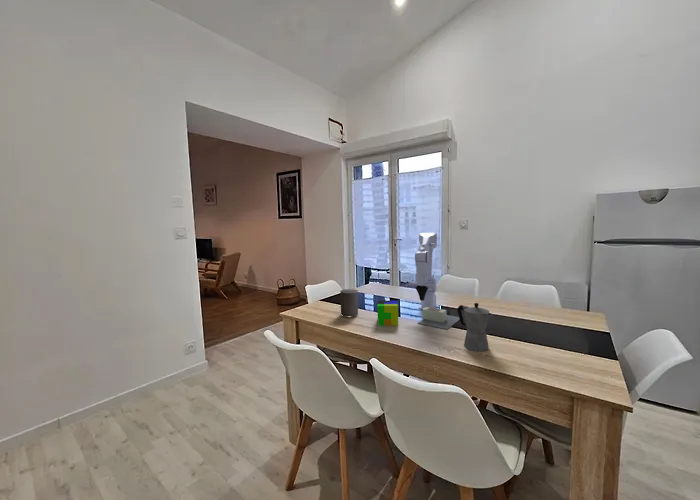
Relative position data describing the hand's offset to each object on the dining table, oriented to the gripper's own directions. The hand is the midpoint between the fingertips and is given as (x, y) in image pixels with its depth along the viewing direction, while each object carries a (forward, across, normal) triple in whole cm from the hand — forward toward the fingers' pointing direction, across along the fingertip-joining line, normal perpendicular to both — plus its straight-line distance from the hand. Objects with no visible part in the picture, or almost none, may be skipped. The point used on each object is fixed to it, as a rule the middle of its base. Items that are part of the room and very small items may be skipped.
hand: (422, 300), depth 159 cm
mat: (+9, +10, 0) cm, 14 cm away
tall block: (+6, +1, 0) cm, 7 cm away
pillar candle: (+10, -35, -17) cm, 40 cm away
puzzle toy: (+10, -11, -16) cm, 22 cm away
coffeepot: (+10, +33, -22) cm, 41 cm away
